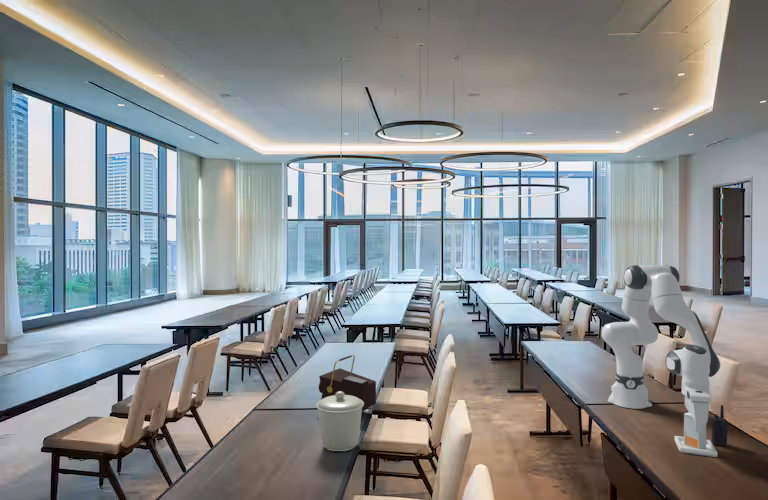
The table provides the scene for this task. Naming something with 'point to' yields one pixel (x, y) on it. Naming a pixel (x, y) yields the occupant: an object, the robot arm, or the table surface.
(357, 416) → the canister
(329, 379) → the brown box with handle
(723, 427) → the two-way radio
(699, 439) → the skincare box
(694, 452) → the tray
